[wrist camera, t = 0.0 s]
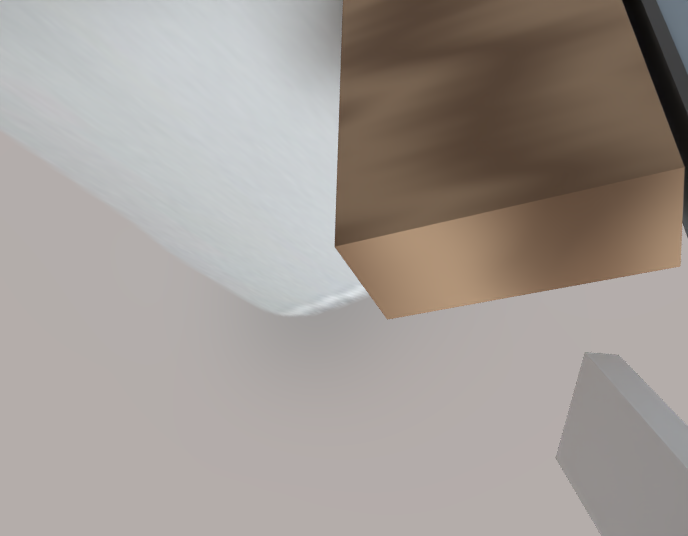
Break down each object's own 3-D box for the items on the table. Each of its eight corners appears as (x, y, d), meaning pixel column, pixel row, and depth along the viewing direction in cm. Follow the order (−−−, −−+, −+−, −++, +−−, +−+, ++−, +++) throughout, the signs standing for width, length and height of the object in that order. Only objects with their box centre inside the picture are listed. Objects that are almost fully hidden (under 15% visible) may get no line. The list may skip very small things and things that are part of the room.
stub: (382, 75, 25) (387, 319, 19) (343, -11, 22) (334, 246, 16) (595, 8, 22) (680, 266, 16) (584, -100, 19) (684, 167, 13)
